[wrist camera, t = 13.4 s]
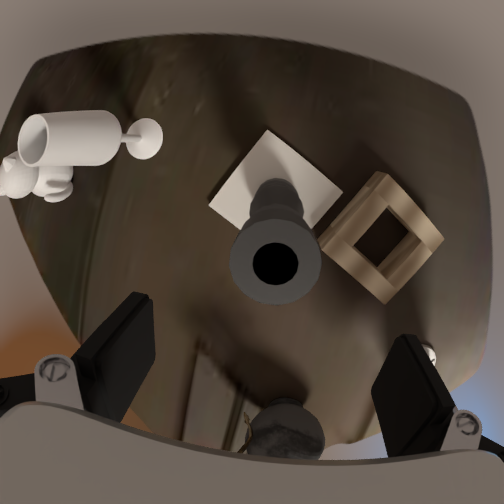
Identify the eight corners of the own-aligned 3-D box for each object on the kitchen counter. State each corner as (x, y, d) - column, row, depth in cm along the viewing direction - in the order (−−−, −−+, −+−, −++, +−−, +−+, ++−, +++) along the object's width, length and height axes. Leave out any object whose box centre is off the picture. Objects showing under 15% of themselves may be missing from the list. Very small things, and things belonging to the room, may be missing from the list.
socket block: (430, 229, 41) (444, 238, 36) (375, 290, 46) (384, 304, 41) (376, 170, 39) (387, 173, 34) (317, 239, 44) (321, 250, 39)
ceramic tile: (341, 191, 41) (343, 192, 40) (282, 259, 45) (282, 262, 44) (267, 130, 39) (267, 129, 38) (210, 204, 43) (208, 205, 42)
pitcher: (297, 429, 59) (296, 538, 31) (229, 399, 57) (204, 521, 29) (328, 406, 56) (340, 526, 28) (258, 373, 54) (241, 512, 25)
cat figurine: (55, 135, 41) (-4, 138, 27) (93, 170, 43) (32, 182, 28) (38, 174, 44) (-18, 187, 30) (73, 210, 45) (16, 233, 31)
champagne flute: (160, 161, 41) (54, 179, 19) (123, 158, 42) (11, 176, 19) (165, 118, 39) (61, 99, 17) (128, 117, 39) (16, 107, 17)
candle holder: (263, 171, 40) (243, 199, 16) (304, 186, 40) (342, 235, 17) (249, 211, 42) (213, 290, 18) (289, 226, 42) (302, 320, 19)
